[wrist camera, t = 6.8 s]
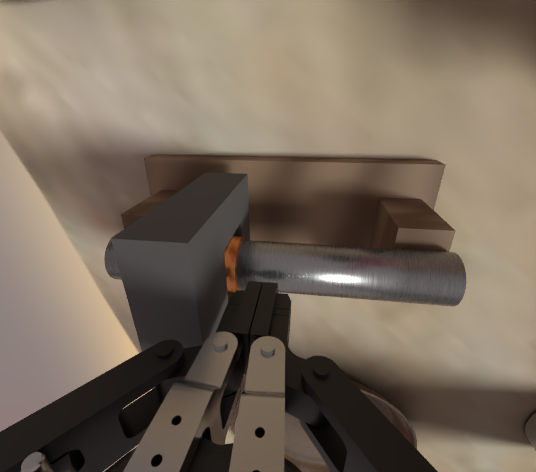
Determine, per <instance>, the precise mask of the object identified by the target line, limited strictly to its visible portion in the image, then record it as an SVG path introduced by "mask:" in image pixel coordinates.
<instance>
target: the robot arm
mask: <svg viewBox="0 0 536 472" xmlns="http://www.w3.org/2000/svg"><path fill="white" fill-rule="evenodd" d="M290 315H291V300H290V298H289V296H288V294H281V293H278V283H271V282H257V281H248V283H247V286H246V288H245V291H244V290H237V291H236V292H234V293H233V294H232V295H231V296H230V299H229V301H228V303H227V306H226V308H225V311H224V313H223V316H222V318H221V321H220V323H219V325H218V328H217V330H216V333H214V334H212V335H210V336H209V337H208V338H207V339H206V340H205V342H204V344H202V345H199V346H195V347H189V348H183V345H182V344H181V343H180V342H179V341H177V340H164V341H161V342H159V343H157V344H155V345H153V346H151V347H150V348H148V349H146V350H144V351H143V352H141V353H139V354H137V355H136V356H134V357H132V358H130V359H129V360H127V361H125V362H123V363H121V364H120V365H118V366H116V367H115V368H113V369H111V370H109V371H107V372H105V373H104V374H102V375H100V376H98V377H97V378H95V379H93V380H91V381H90V382H88V383H86V384H84V385H83V386H81V387H79V388H77V389H75V390H74V391H72V392H70V393H68V394H66V395H65V396H63V397H61V398H59V399H58V400H56V401H54V402H52V403H51V404H49V405H47V406H46V407H43V408H42V409H40V410H38V411H36V412H35V413H33V414H31V415H29V416H28V417H26V418H24V419H22V420H21V421H19V422H17V423H15V424H13V425H12V426H10V427H8V428H6V429H5V430H3V431H1V432H0V472H102V471H104V470H105V469H106V468H108V467H109V466H110V465H112V464H113V463H114V462H116V461H117V460H118V459H119V458H121V457H122V456H123V455H125V454H126V453H127V452H129V451H130V450H131V449H133V448H134V447H135V446H137V445H138V444H139V445H138V446H137V447H136V448H135V449H133V450H132V451H130V452H129V453H127V454H126V455H125V456H124V457H122V458H121V459H120V460H119V461H117V462H116V463H115V464H114V465H112V466H111V467H110V468H109V469H107V470H106V471H105V472H302V471H301V470H300V469H299V468H298V467H297V466H296V465H294V464H293V463H292V462H291V461H289V460H288V459H286V458H284V438H285V412H286V413H288V414H290V415H292V416H294V417H296V418H298V419H299V422H300V424H301V426H302V428H303V429H304V431H305V432H306V434H307V435H308V437H309V438H310V440H311V441H312V443H313V444H314V446H315V448H316V449H317V451H318V452H319V454H320V455H321V457H322V458H323V460H324V461H325V463H326V464H327V466H328V467H329V469H330V470H331V472H437V471H436V469H435V468H434V467H433V466H432V465H431V464H430V463H429V462H428V461H427V460H426V459H425V458H424V457H423V456H422V455H421V454H420V453H419V451H418V450H417V449H416V448H415V447H414V446H413V445H412V444H411V443H410V442H409V441H408V440H407V439H406V438H405V437H404V436H403V435H402V433H401V432H400V431H399V430H398V429H397V428H396V427H395V426H394V425H393V424H392V423H391V422H390V421H389V420H388V419H387V418H386V417H385V416H384V414H383V413H382V412H381V411H380V410H379V409H378V408H377V407H376V406H375V405H374V404H373V403H372V402H371V401H370V400H369V399H368V398H367V396H366V395H365V394H364V393H363V392H362V391H361V390H360V389H359V388H358V387H357V386H356V385H355V384H354V383H353V382H352V381H351V380H350V378H349V377H348V376H347V375H346V374H345V373H344V372H343V371H342V370H341V369H340V368H339V367H338V366H337V365H336V364H335V363H334V362H333V361H332V360H330V359H329V358H326V357H323V356H313V357H310V358H308V359H307V360H305V359H302V358H300V357H298V356H296V355H295V354H293V353H292V352H291V351H290V349H289V348H288V342H289V331H290ZM243 374H247V376H246V382H245V389H244V392H242V394H241V399H240V405H239V411H238V417H237V424H236V430H235V436H234V443H231V444H225V439H226V434H227V431H228V428H229V425H230V422H231V419H232V416H233V413H234V410H235V407H236V404H237V400H238V397H239V394H240V391H241V382H242V378H243ZM152 388H154V389H152ZM151 389H152V390H151ZM149 390H151V391H149ZM148 391H149V392H148ZM146 392H148V393H146ZM145 393H146V394H145ZM143 394H145V395H143ZM141 395H143V396H142V397H140V396H141ZM138 397H140V398H139V399H137V398H138ZM135 399H137V400H136V401H134V400H135ZM132 401H134V402H133V403H131V402H132ZM129 403H131V404H130V405H128V404H129ZM126 405H128V406H127V407H126V408H124V407H125V406H126ZM123 408H124V409H123ZM525 433H526V436H527V438H528V440H529V441H530V443H531V444H532V446H533V447H534V449H535V451H536V413H535V414H533V415H532V416H531V417H530V419H529V420H528V421H527V423H526V426H525Z"/></svg>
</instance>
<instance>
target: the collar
mask: <svg viewBox="0 0 536 472" xmlns="http://www.w3.org/2000/svg"><path fill="white" fill-rule="evenodd" d="M232 236H239V237H244V238H245V240H250V224H249V198H248V174H238V173H204V174H203V175H201V176H200V177H199V178H197V179H196V180H194V181H193V182H191V183H190V184H189V185H187V186H186V187H184V188H183V189H181V190H180V191H179V192H177V193H176V194H174V195H173V196H171V197H170V198H168V199H167V200H166V201H164V202H163V203H161V204H160V205H158V206H157V207H156V208H154V209H153V210H151V211H150V212H148V213H147V214H145V215H144V216H143V217H141V218H140V219H138V220H137V221H135V222H134V223H133V224H131V225H130V226H128V227H127V228H125V229H124V230H122V231H121V232H120V233H118V234H117V235H115V236H114V237H112V238H111V241H112V245H113V248H114V252H115V255H116V259H117V263H118V266H119V270H120V274H121V277H122V281H123V284H124V288H125V292H126V295H127V299H128V302H129V306H130V310H131V313H132V317H133V321H134V324H135V328H136V331H137V335H138V339H139V342H140V346H141V349H142V352H143V351H144V350H146V349H148V348H150V347H151V346H153V345H155V344H157V343H159V342H161V341H164V340H177V341H179V342H180V343H181V344H182V345H183V348H189V347H195V346H199V345H202V344H204V342H205V340H206V339H207V338H208V337H209V336H210V335H212V334H214V333H216V330H217V328H218V325H219V323H220V321H221V318H222V316H223V313H224V311H225V308H226V306H227V303H228V301H229V299H230V296H231V295H232V294H233V293H234V292H227V280H226V268H225V257H224V250H225V248H226V247H227V245H228V243H229V242H230V240H231V238H232ZM241 290H244V289H241ZM244 291H245V290H244ZM152 389H154V388H152Z"/></svg>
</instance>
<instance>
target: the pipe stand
mask: <svg viewBox="0 0 536 472" xmlns="http://www.w3.org/2000/svg"><path fill="white" fill-rule="evenodd" d="M144 160H145V166H146V171H147V176H148V181H149V186H150V191H151V197H149V198H147V199H146V200H144V201H142V202H141V203H139V204H137V205H136V206H134V207H133V208H131V209H129V210H128V211H126V212H124V213H123V214H121V216H122V220H123V224H124V228H127V227H128V226H130V225H131V224H133V223H134V222H135V221H137V220H138V219H140V218H141V217H143V216H144V215H145V214H147V213H148V212H150V211H151V210H153V209H154V208H156V207H157V206H158V205H160V204H161V203H163V202H164V201H166V200H167V199H168V198H170V197H171V196H173V195H174V194H176V193H177V192H179V191H180V190H181V189H183V188H184V187H186V186H187V185H189V184H190V183H191V182H193V181H194V180H196V179H197V178H199V177H200V176H201V175H203V174H204V173H238V174H248V198H249V224H250V240H252V241H270V242H287V243H304V244H321V245H339V246H356V247H373V248H390V249H408V250H425V251H442V252H449V250H450V247H451V244H452V240H453V237H454V234H455V230H454V229H453V228H452V227H451V226H450V225H449V224H448V223H447V222H445V221H444V220H443V219H442V218H441V217H440V216H439V215H438V214H437V213H436V212H435V211H434V206H435V202H436V199H437V195H438V191H439V187H440V183H441V180H442V176H443V172H444V168H445V164H443V163H441V162H439V161H437V160H388V159H337V158H285V157H233V156H182V155H152V156H149V157H147V158H144Z"/></svg>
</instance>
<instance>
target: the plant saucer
mask: <svg viewBox="0 0 536 472" xmlns="http://www.w3.org/2000/svg"><path fill="white" fill-rule="evenodd" d="M351 381H352V380H351ZM352 382H353V383H354V384H355V385H356V386H357V387H358V388H359V389H360V390H361V391H362V392H363V393H364V394H365V395H366V396H367V398H368V399H369V400H370V401H371V402H372V403H373V404H374V405H375V406H376V407H377V408H378V409H379V410H380V411H381V412H382V413H383V414H384V416H385V417H386V418H387V419H388V420H389V421H390V422H391V423H392V424H393V425H394V426H395V427H396V428H397V429H398V430H399V431H400V432H401V433H402V435H403V436H404V437H405V438H406V439H407V440H408V441H409V442H410V443H411V444H412V445H413V446H414V447H415V448H416V449H417V440H416V435H415V432H414V430H413V428H412V426H411V424H410V423H409V421H408V420H407V419H406V417H405V416H404V415H403V414H402V413H401V412H400V411H399V410H398V409H397V408H396V407H395V406H394V405H393V404H392V403H390V402H389V401H388V400H387V399H385V398H384V397H383V396H381V395H380V394H378V393H377V392H375V391H373V390H372V389H370V388H368V387H366V386H364V385H362V384H359V383H357V382H354V381H352ZM237 417H238V415H237ZM237 417H236V420H235V426H234V434H235V430H236V424H237ZM284 458H286V459H288V460H289V461H291V462H292V463H293V464H294V465H296V466H297V467H298V468H299V469H300V470H301V471H302V472H331V470H330V469H329V467H328V466H327V464H326V463H325V461H324V460H323V458H322V457H321V455H320V454H319V452H318V451H317V449H316V448H315V446H314V444H313V443H312V441H311V440H310V438H309V437H308V435H307V434H306V432H305V431H304V429H303V428H302V426H301V424H300V422H299V419H298V418H296V417H294V416H292V415H290V414H288V413H286V412H285V438H284Z"/></svg>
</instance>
